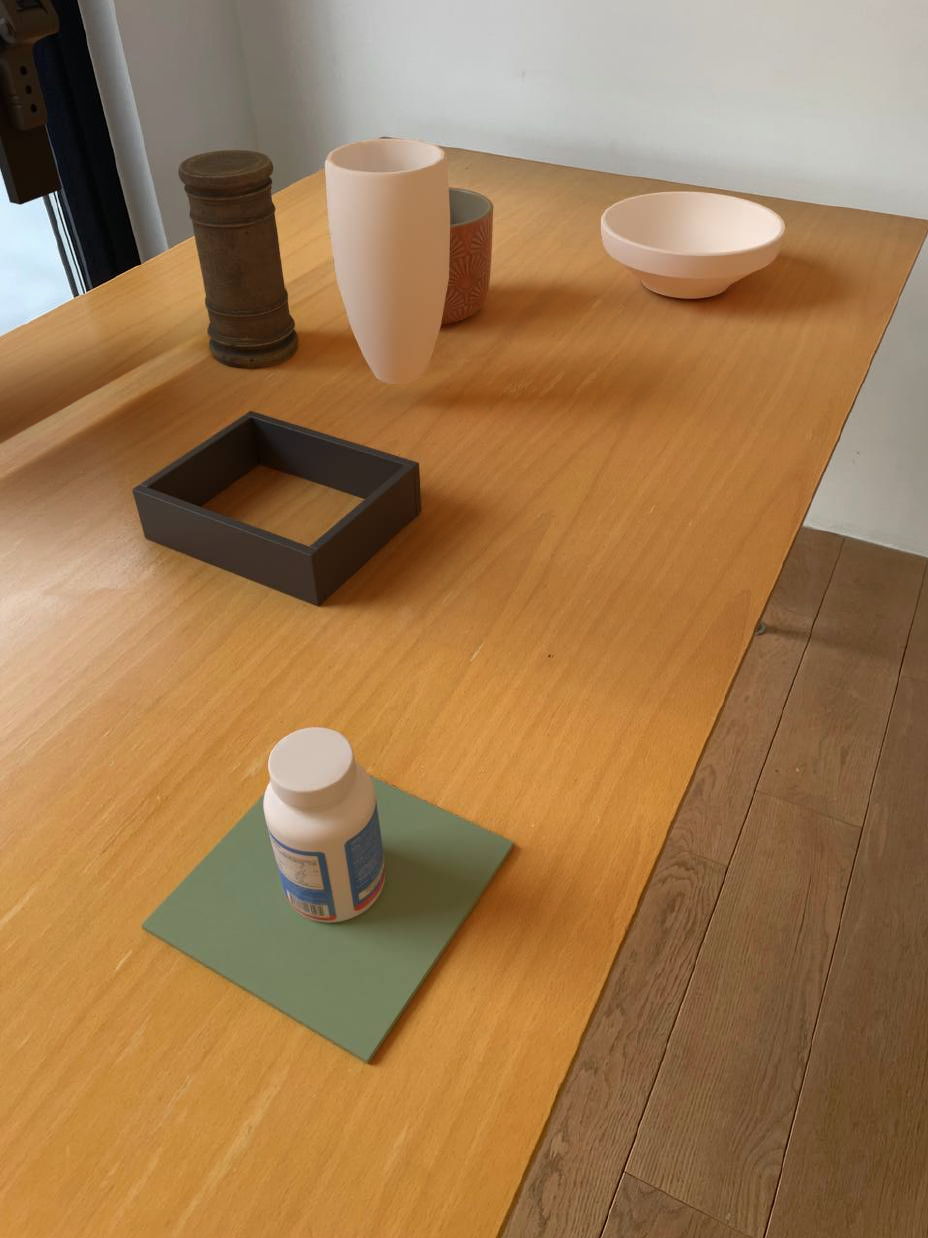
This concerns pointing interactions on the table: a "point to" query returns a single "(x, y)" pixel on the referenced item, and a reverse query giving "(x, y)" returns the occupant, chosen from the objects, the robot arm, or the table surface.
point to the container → (239, 257)
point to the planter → (468, 254)
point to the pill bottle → (324, 826)
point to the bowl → (691, 240)
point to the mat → (339, 951)
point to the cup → (391, 249)
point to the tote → (259, 553)
